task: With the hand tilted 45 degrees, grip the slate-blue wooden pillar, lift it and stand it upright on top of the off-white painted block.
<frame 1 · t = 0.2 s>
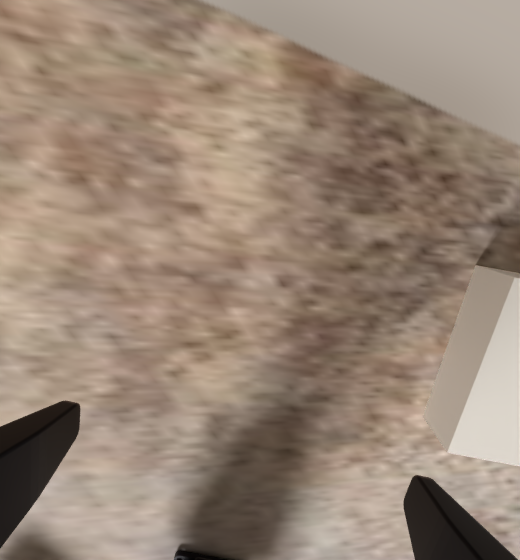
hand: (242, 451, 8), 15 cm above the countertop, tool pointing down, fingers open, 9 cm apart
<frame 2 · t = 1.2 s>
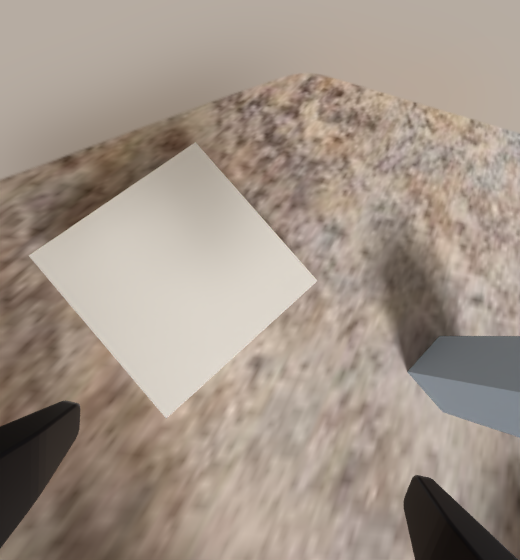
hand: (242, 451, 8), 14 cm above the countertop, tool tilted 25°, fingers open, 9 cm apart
blue pillar: (441, 373, 24), on the countertop
base block: (186, 280, 23), on the countertop
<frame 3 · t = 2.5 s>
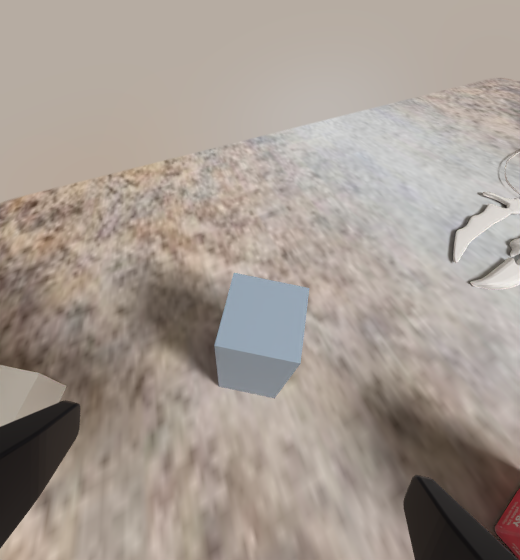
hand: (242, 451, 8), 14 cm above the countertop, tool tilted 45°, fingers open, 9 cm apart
blue pillar: (252, 364, 23), on the countertop
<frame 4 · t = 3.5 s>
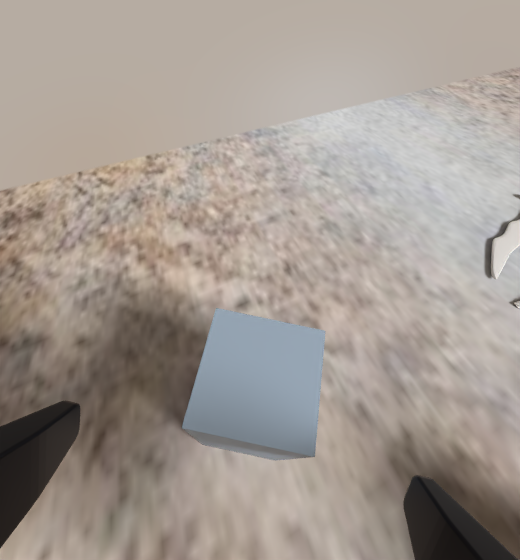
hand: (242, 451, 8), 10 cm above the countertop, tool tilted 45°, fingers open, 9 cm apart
blue pillar: (246, 413, 18), on the countertop
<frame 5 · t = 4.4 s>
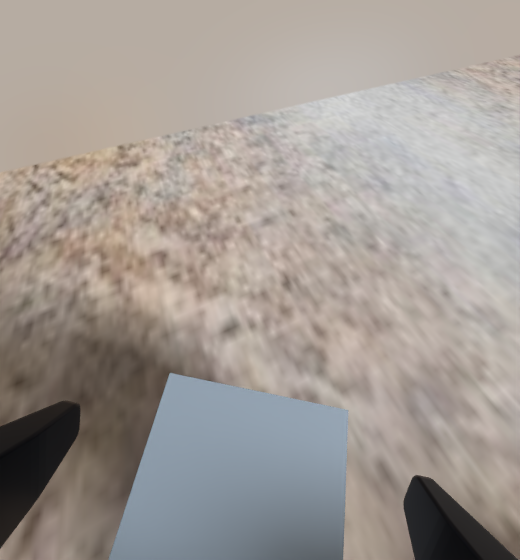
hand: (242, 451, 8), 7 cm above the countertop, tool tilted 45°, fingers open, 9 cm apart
blue pillar: (232, 479, 14), on the countertop
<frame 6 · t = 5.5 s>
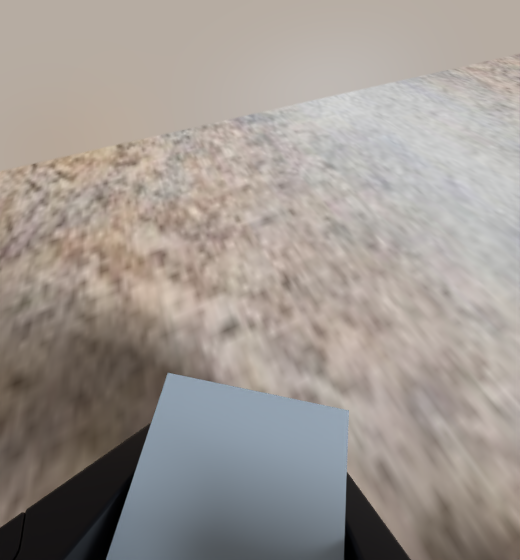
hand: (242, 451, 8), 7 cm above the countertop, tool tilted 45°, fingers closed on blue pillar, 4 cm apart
blue pillar: (231, 479, 14), on the countertop, touching gripper
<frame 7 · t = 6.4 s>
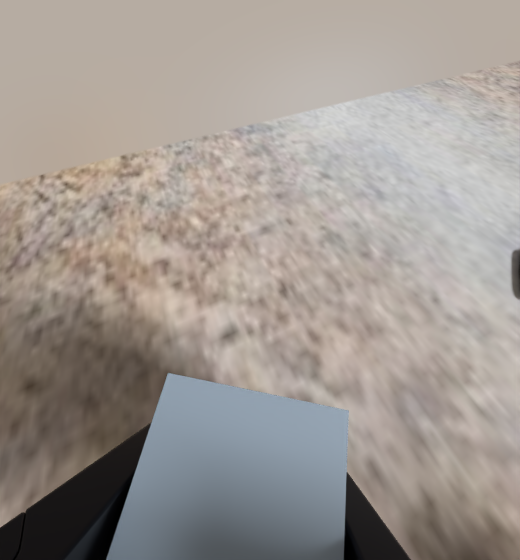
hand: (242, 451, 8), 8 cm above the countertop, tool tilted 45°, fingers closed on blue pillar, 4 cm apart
blue pillar: (231, 479, 14), point 1 cm above the countertop, touching gripper
when the fingers open (11 cm above the countertop, at t = 12.6 s): blue pillar drops 1 cm, resting on base block.
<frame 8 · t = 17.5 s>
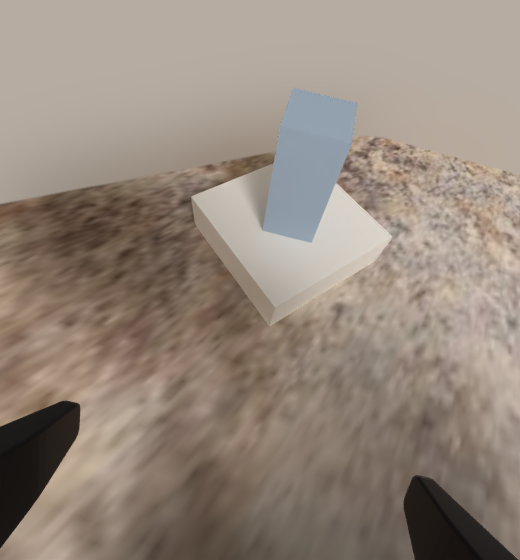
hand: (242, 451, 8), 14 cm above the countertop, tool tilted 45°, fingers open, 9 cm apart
blue pillar: (291, 218, 26), point 4 cm above the countertop, touching base block
base block: (283, 245, 29), on the countertop, touching blue pillar
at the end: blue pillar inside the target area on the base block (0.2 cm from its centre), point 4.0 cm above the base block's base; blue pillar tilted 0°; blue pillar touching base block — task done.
